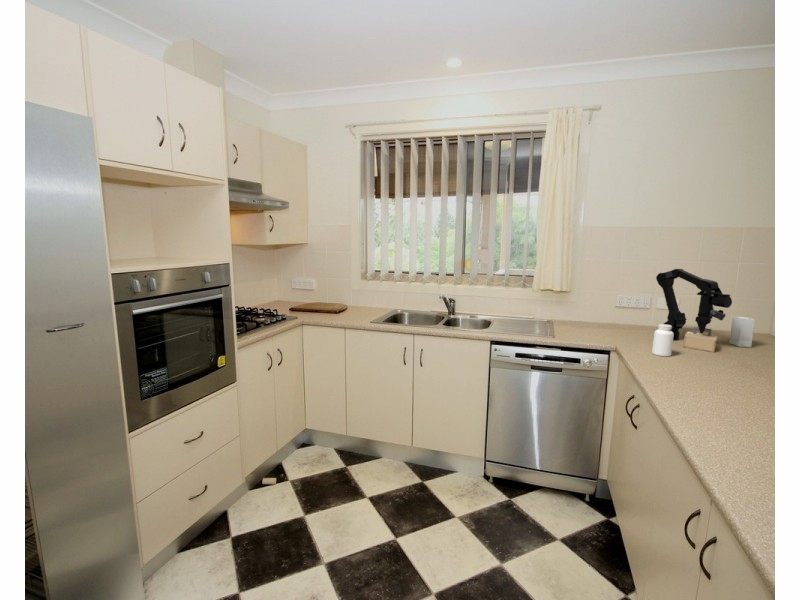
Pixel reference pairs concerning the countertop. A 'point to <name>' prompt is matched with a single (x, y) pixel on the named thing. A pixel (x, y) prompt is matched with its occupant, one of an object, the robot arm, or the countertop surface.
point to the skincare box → (741, 331)
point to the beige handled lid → (701, 336)
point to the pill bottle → (663, 340)
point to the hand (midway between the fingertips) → (701, 332)
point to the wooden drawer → (699, 344)
